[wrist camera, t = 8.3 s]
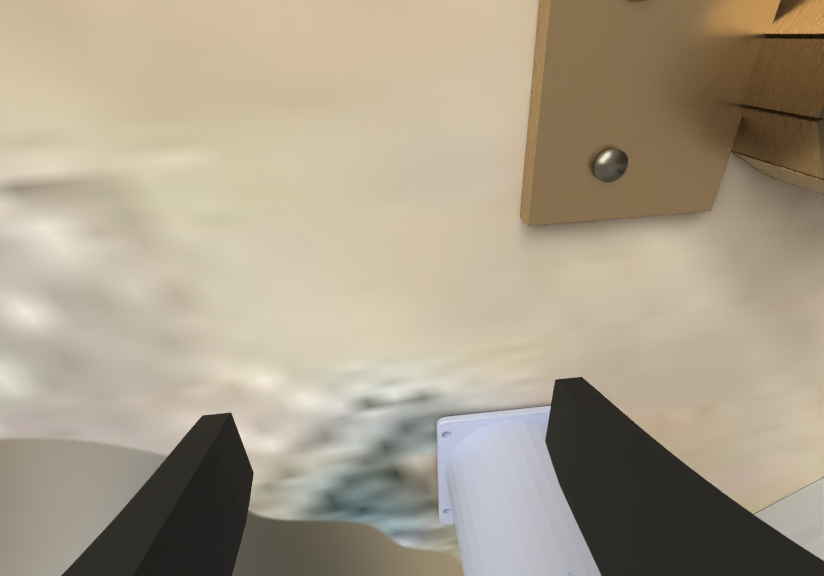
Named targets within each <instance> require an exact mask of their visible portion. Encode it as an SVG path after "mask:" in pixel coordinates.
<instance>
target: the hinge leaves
mask: <svg viewBox="0 0 824 576" xmlns="http://www.w3.org/2000/svg"><path fill="white" fill-rule="evenodd" d="M731 150H733V151H732V152H733V153H734V154H736V155H737V156H739V157H740V158H741V159H743V160H744V161H746V162H747V163H749V164H750V165H752V166H753V167H755V168H756V169H757V170H759V171H760V172H762V173H763V174H766V175H769V176H772V177H774V178H777V179H780V180H783V181H786V182H789V183H792V184H795V185H797V186H800V187H803V188H806V189H809V190H812V191H815V192H818V193H820V194H823V195H824V0H539V12H538V23H537V34H536V45H535V56H534V67H533V79H532V90H531V101H530V112H529V123H528V134H527V146H526V157H525V168H524V179H523V190H522V202H521V213H520V217H521V218H522V219H523V220H524V221H525V223H526V224H527V225H528V226H530V225H542V224H555V223H567V222H580V221H592V220H605V219H617V218H630V217H642V216H655V215H667V214H680V213H692V212H705V211H711V209H712V206H713V203H714V200H715V197H716V194H717V191H718V188H719V185H720V182H721V179H722V176H723V173H724V170H725V166H726V163H727V160H728V157H729V154H730V151H731Z"/></svg>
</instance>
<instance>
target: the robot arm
mask: <svg viewBox="0 0 824 576" xmlns="http://www.w3.org/2000/svg"><path fill="white" fill-rule="evenodd" d="M436 426H437V470H438V513H439V521H440V523H441V524H444V525H448V524H455V528H456V534H457V539H458V545H459V550H460V556H461V561H462V567H463V572H464V576H824V561H823V560H822V559H820V558H819V557H817V556H815V555H814V554H812V553H811V552H809V551H808V550H806V549H804V548H803V547H801V546H800V545H798V544H797V543H795V542H794V541H792V540H791V539H789V538H788V537H786V536H785V535H783V534H782V533H780V532H779V531H777V530H776V529H774V528H773V527H771V526H770V525H768V524H767V523H765V522H764V521H762V520H761V519H759V518H758V517H756V516H755V515H753V514H752V513H751V512H749V511H748V510H746V509H745V508H743V507H742V506H741V505H739V504H738V503H736V502H735V501H734V500H732V499H731V498H729V497H728V496H727V495H725V494H724V493H723V492H721V491H720V490H719V489H717V488H716V487H715V486H713V485H712V484H711V483H709V482H708V481H707V480H705V479H704V478H703V477H701V476H700V475H699V474H697V473H696V472H695V471H693V470H692V469H691V468H689V467H688V466H687V465H686V464H684V463H683V462H682V461H681V460H679V459H678V458H677V457H675V456H674V455H673V454H672V453H670V452H669V451H668V450H667V449H666V448H664V447H663V446H662V445H661V444H659V443H658V442H657V441H656V440H655V439H653V438H652V437H651V436H650V435H649V434H647V433H646V432H645V431H644V430H643V429H641V428H640V427H639V426H638V425H637V424H635V423H634V422H633V421H632V420H631V419H630V418H628V417H627V416H626V415H625V414H624V413H623V412H621V411H620V410H619V409H618V408H617V407H616V406H615V405H613V404H612V403H611V402H610V401H609V400H608V399H607V398H605V397H604V396H603V395H602V394H601V393H600V392H598V391H597V390H596V389H595V388H594V387H593V386H592V385H590V384H589V383H588V382H587V381H586V380H585V379H583V378H582V377H577V378H567V379H558V380H555V385H554V391H553V397H552V403H551V406H543V407H533V408H524V409H514V410H505V411H495V412H486V413H476V414H467V415H457V416H448V417H442V418H441V419H439V420H438V421H437V424H436ZM446 431H448V432H446ZM252 480H253V470H252V468H251V465H250V462H249V460H248V457H247V454H246V451H245V449H244V446H243V443H242V441H241V438H240V435H239V433H238V430H237V427H236V424H235V422H234V419H233V416H232V414H231V413H224V414H214V415H204V416H202V417H201V418H200V419H199V420H198V421H197V423H196V424H195V425H194V426H193V427H192V428H191V430H190V431H189V432H188V433H187V434H186V435H185V437H184V438H183V439H182V440H181V441H180V443H179V444H178V445H177V446H176V447H175V449H174V450H173V451H172V452H171V453H170V455H169V456H168V457H167V458H166V460H165V461H164V462H163V463H162V464H161V465H160V467H159V468H158V469H157V470H156V471H155V473H154V474H153V475H152V476H151V477H150V478H149V480H148V481H147V482H146V483H145V485H144V486H143V487H142V488H141V489H140V490H139V491H138V492H137V494H136V495H135V496H134V497H133V498H132V499H131V500H130V502H129V503H128V504H127V505H126V506H125V507H124V508H123V510H122V511H121V512H120V513H119V514H118V515H117V517H116V518H115V519H114V520H113V521H112V522H111V523H110V524H109V526H107V528H106V529H105V530H104V531H103V532H102V533H101V534H100V535H99V536H98V537H97V538H96V539H95V540H94V542H93V543H92V544H91V545H90V546H89V547H88V548H87V549H86V550H85V551H84V553H82V554H81V556H80V557H79V558H78V559H77V560H76V561H75V562H74V563H73V564H72V565H71V566H70V567H69V568H68V569H67V570H66V571H65V573H64V574H63V575H62V576H232V572H233V568H234V565H235V561H236V558H237V554H238V550H239V547H240V543H241V539H242V535H243V532H244V528H245V524H246V519H247V513H248V507H249V501H250V494H251V487H252Z"/></svg>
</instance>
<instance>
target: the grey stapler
mask: <svg viewBox="0 0 824 576" xmlns="http://www.w3.org/2000/svg"><path fill="white" fill-rule="evenodd" d="M753 515H755V516H756V517H758V518H759V519H761V520H762V521H764V522H765V523H767V524H768V525H770V526H771V527H773V528H774V529H776V530H777V531H779V532H780V533H782V534H783V535H785V536H786V537H788V538H789V539H791V540H792V541H794V542H795V543H797V544H798V545H800V546H801V547H803V548H804V549H806V550H808V551H809V552H811V553H812V554H814V555H815V556H817V557H819V558H820V559H822V560H823V561H824V478H822V479H820V480H818V481H816V482H814V483H812V484H810V485H808V486H807V487H805V488H803V489H801V490H799V491H797V492H795V493H793V494H791V495H790V496H788V497H786V498H784V499H782V500H780V501H778V502H776V503H774V504H772V505H771V506H769V507H767V508H765V509H763V510H761V511H759V512H757V513H755V514H753Z"/></svg>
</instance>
